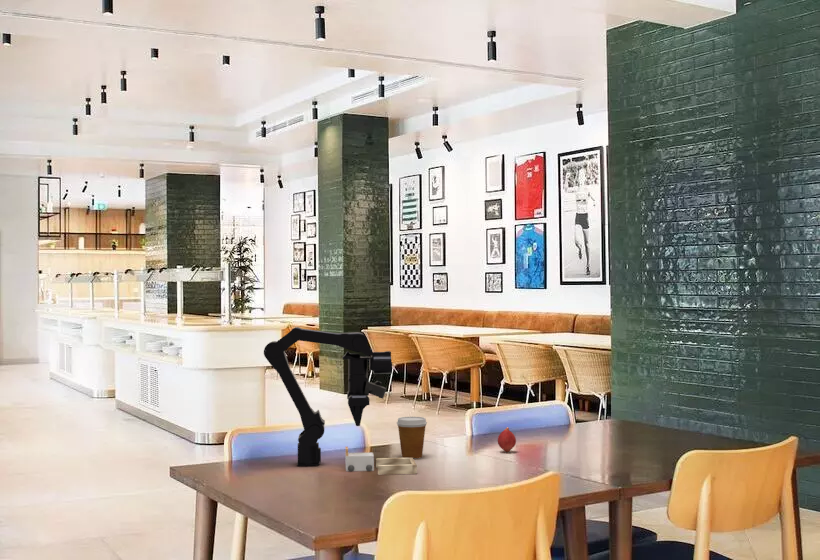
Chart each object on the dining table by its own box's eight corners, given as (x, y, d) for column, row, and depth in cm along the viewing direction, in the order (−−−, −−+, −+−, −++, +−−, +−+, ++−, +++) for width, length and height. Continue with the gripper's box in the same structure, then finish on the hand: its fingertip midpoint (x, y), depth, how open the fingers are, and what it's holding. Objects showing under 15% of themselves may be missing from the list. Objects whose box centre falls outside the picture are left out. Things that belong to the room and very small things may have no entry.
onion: (495, 453, 299) (495, 428, 299) (500, 450, 305) (500, 425, 305) (513, 454, 297) (513, 428, 297) (518, 451, 302) (517, 426, 302)
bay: (378, 474, 265) (378, 465, 265) (375, 466, 277) (375, 458, 277) (416, 473, 266) (416, 465, 266) (413, 466, 278) (413, 457, 278)
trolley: (346, 472, 270) (346, 449, 270) (345, 468, 277) (345, 445, 277) (374, 471, 271) (373, 449, 271) (372, 467, 277) (372, 445, 278)
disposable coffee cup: (424, 460, 288) (423, 421, 288) (393, 459, 289) (393, 420, 290) (429, 454, 297) (429, 416, 297) (400, 453, 299) (400, 416, 299)
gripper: (386, 376, 274) (386, 430, 274) (382, 371, 293) (382, 421, 293) (348, 377, 273) (348, 430, 273) (347, 371, 292) (347, 421, 292)
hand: (358, 425), depth 283 cm, fingers closed
